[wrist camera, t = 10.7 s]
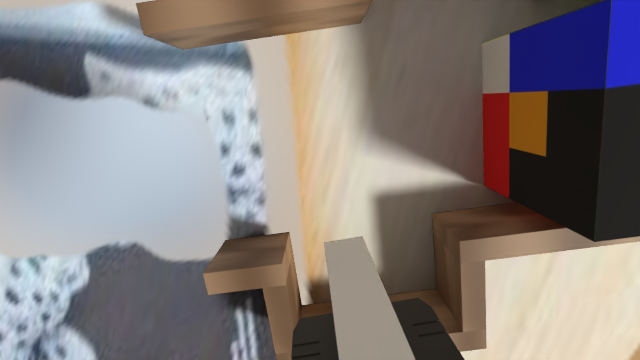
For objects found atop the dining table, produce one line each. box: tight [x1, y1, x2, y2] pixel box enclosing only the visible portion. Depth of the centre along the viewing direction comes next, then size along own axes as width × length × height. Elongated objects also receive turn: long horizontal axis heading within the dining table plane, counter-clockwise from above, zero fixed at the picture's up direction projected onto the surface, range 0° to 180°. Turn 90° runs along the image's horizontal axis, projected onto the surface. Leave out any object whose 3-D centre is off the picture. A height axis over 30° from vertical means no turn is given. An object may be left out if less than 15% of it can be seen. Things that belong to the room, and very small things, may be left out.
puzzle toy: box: [482, 0, 640, 242], centre depth 18 cm, size 10×10×10 cm
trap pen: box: [136, 0, 640, 360], centre depth 20 cm, size 32×30×5 cm
